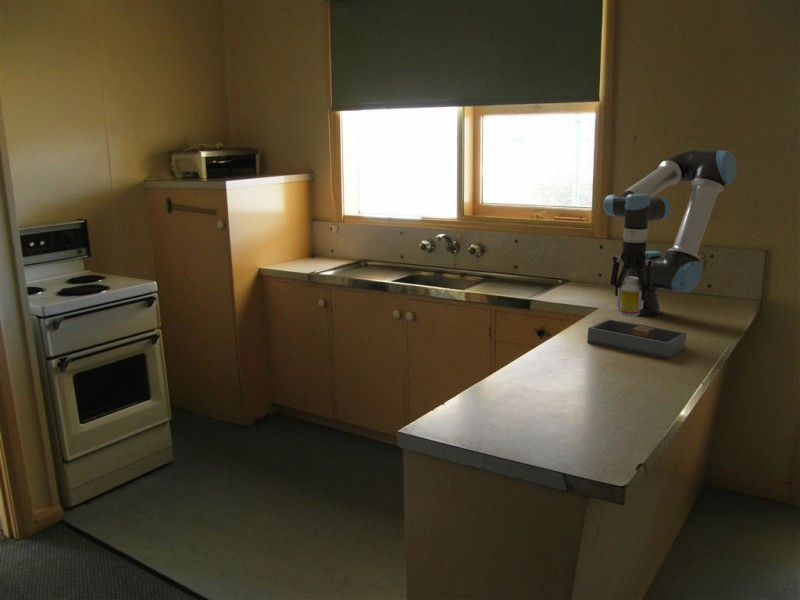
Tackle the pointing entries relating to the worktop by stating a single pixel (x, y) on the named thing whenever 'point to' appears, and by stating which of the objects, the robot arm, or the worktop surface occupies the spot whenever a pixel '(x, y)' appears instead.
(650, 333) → the walnut cube
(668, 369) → the worktop surface
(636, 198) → the robot arm
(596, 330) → the tray
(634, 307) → the supplement bottle
